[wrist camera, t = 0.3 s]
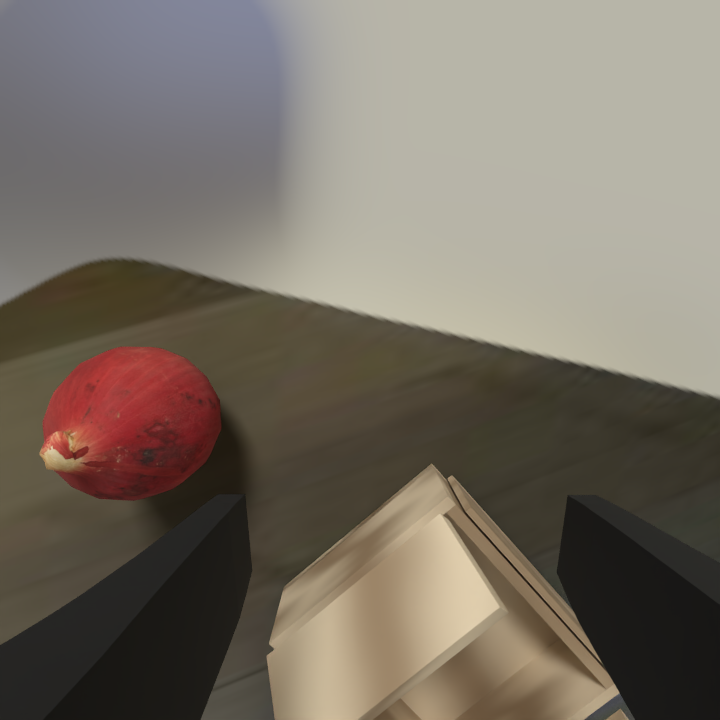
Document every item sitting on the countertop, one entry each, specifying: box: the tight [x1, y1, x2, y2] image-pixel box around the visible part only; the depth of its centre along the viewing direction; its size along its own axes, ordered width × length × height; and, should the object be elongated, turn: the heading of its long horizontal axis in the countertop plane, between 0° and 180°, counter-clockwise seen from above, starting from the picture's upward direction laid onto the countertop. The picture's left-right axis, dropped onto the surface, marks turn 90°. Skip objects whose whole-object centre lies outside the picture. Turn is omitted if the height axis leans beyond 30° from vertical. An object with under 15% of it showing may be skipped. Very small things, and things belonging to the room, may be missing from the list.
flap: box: [267, 514, 509, 720], centre depth 14 cm, size 9×4×1 cm
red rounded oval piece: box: [40, 347, 221, 501], centre depth 15 cm, size 6×6×8 cm
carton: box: [269, 463, 619, 720], centre depth 19 cm, size 11×12×4 cm
